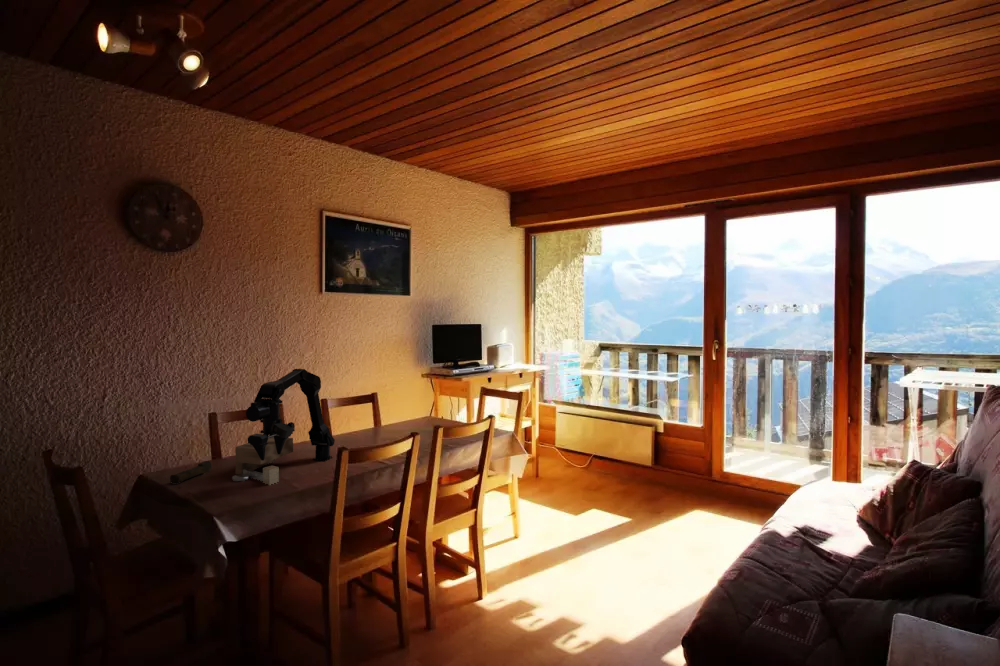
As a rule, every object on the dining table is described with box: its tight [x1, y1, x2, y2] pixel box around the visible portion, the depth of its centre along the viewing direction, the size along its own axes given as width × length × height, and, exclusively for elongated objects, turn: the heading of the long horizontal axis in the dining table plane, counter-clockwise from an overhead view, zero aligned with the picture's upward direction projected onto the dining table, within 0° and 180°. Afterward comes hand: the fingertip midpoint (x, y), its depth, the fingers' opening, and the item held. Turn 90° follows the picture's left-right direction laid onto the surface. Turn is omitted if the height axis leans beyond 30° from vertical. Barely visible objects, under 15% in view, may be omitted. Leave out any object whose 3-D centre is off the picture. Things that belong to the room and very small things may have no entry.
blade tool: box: [243, 465, 280, 486], centre depth 210 cm, size 4×19×6 cm, turn 58°
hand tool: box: [169, 460, 213, 484], centre depth 212 cm, size 19×4×5 cm, turn 164°
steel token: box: [231, 474, 250, 482], centre depth 210 cm, size 6×6×2 cm
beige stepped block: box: [234, 437, 294, 475], centre depth 224 cm, size 20×12×11 cm, turn 164°
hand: (271, 457), depth 205 cm, fingers open, 9 cm apart
